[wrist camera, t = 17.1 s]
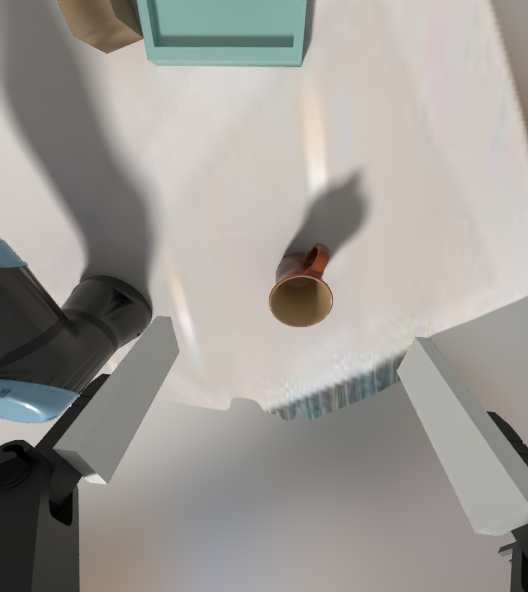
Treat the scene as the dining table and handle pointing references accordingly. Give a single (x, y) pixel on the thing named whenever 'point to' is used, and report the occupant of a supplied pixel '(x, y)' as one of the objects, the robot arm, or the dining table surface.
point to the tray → (223, 32)
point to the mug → (302, 288)
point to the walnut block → (102, 22)
